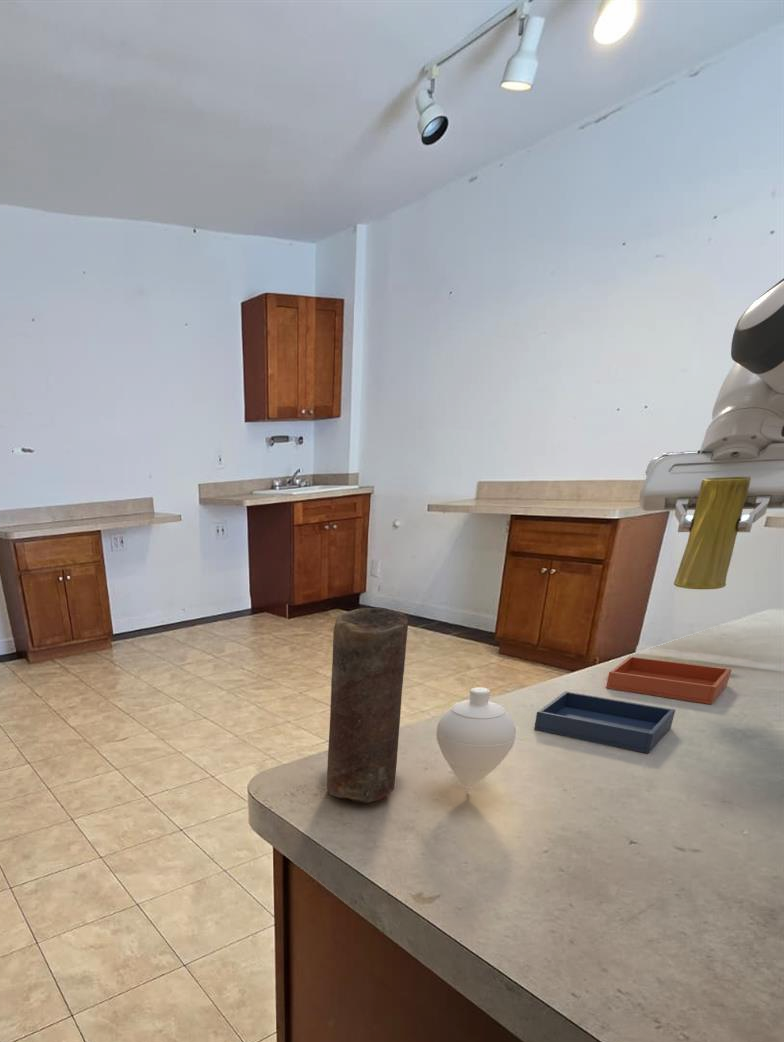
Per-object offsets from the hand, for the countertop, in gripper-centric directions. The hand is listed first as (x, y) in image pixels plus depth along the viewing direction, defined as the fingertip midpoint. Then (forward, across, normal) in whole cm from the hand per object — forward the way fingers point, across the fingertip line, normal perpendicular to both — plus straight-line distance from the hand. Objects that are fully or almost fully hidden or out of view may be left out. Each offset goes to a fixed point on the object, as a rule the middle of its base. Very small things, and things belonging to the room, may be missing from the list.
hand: (713, 529), depth 88 cm
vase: (+5, 0, +6) cm, 8 cm away
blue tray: (+34, -5, -4) cm, 35 cm away
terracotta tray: (+19, -1, +12) cm, 22 cm away
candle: (+57, -23, -26) cm, 67 cm away
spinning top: (+53, -13, -22) cm, 59 cm away
